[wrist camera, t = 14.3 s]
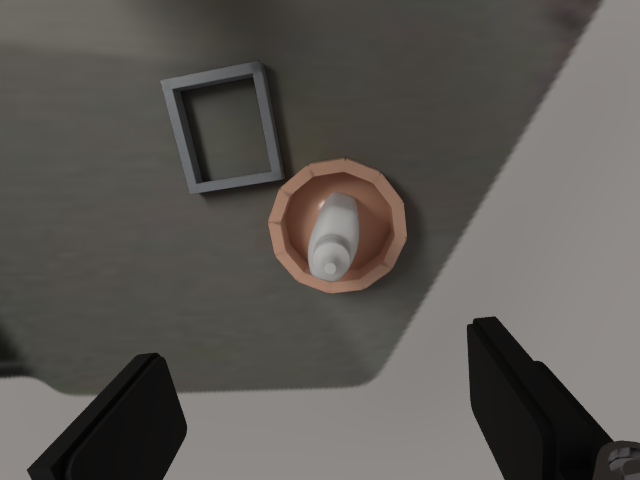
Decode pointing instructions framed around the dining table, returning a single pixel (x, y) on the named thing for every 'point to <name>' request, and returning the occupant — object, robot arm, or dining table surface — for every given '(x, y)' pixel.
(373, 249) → the bowl
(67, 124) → the dining table surface
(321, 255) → the eye dropper bottle
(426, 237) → the dining table surface
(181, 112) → the open rectangular frame
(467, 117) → the dining table surface
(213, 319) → the dining table surface
